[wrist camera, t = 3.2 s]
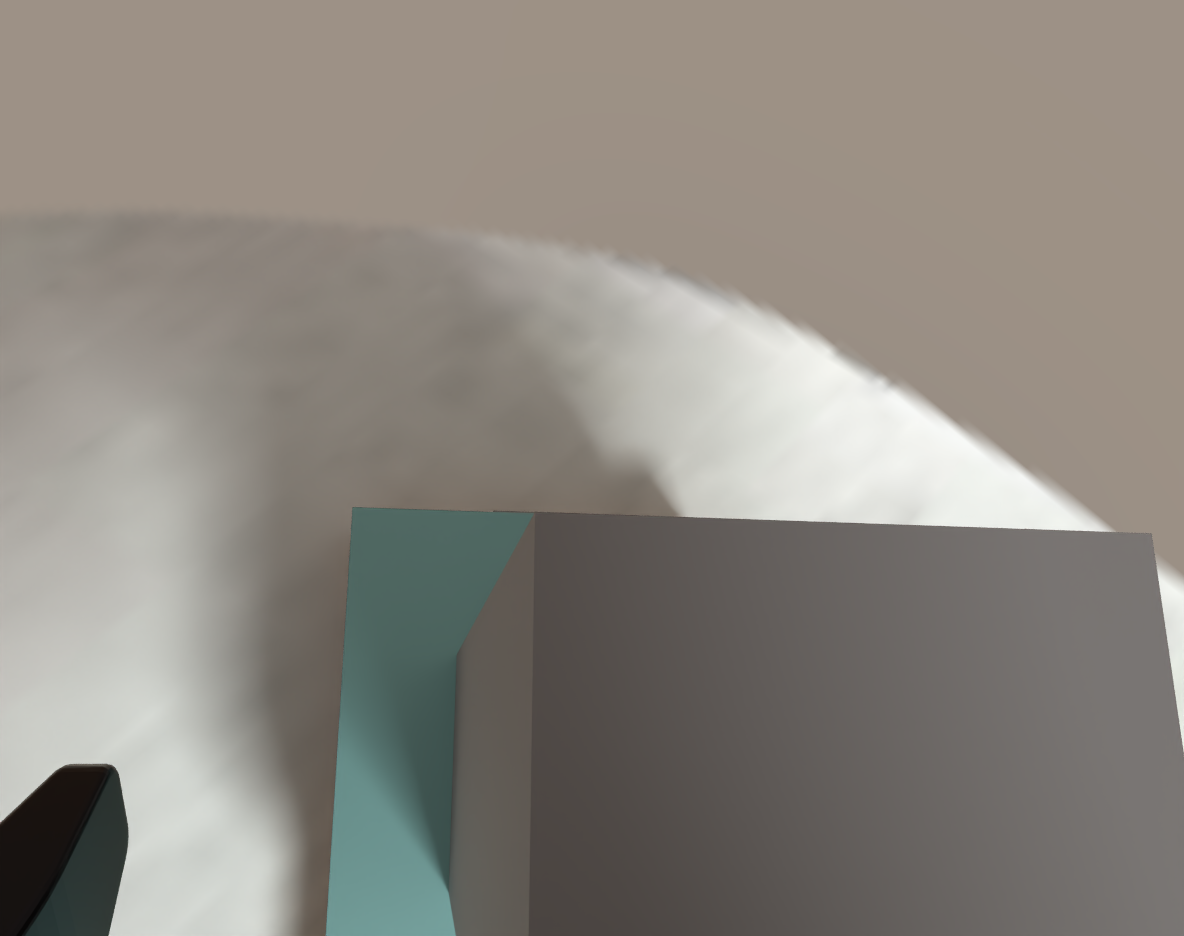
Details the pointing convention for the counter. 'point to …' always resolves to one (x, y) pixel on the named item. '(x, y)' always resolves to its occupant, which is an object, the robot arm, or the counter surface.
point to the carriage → (752, 730)
